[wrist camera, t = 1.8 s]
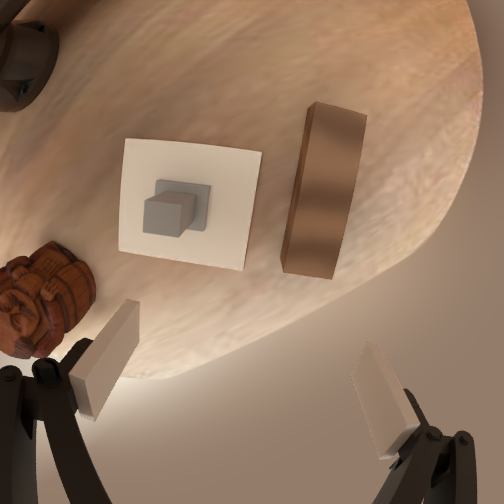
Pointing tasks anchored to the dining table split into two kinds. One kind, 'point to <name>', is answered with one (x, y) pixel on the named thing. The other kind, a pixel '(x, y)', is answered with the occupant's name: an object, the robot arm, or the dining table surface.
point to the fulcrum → (187, 201)
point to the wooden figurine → (42, 300)
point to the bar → (322, 190)
